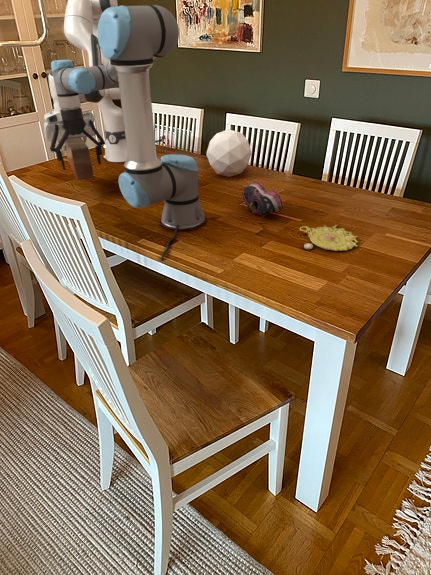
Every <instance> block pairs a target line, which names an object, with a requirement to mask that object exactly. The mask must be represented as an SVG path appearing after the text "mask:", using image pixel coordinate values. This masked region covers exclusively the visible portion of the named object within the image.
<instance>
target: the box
mask: <svg viewBox="0 0 431 575" xmlns="http://www.w3.org/2000/svg"><path fill="white" fill-rule="evenodd" d="M63 146H66V150H67V151H65V154H66V158H67V162H68V165H69V166H70V169H71V171H72V173H73V175H74V177H75V178H76V180H77V181H82V180H83V181H84V180H90V179H94V178H95V175H94V169H93V164H92V160H91V155H90V149H89V146H88V145H87V143H84V141H83V138H82V137H72V138H67V139H66V141H65V143H64V144H63Z"/></svg>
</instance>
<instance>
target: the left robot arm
mask: <svg viewBox="0 0 431 575" xmlns="http://www.w3.org/2000/svg"><path fill="white" fill-rule="evenodd" d="M65 5H66V6H65V11H64V20H63V33H64V37H65V38H66V40H67V41H68V42H69V43H70V44H71V45H72V46H75V48H77V49H79V50H81V51H84V52H86V53H87V56H88V67H92V66H101V65H106V64H108V63H109V62H110V59H108V58H106V57H105V56H104V55H103V54H102V52H101V50H102V49H101V48H100V46H99V42H98V24H99V20H100V18H101V15H102V13H103V12H104V11H105V10H106V9H107V8H110V7H117V6H119V2H118V0H65ZM48 86H49V92H50V97H51V98H52V100H53V110H52V111H49V112H47V113H44V115H43V119H44V121H45V122H44V123H43V132H44V138H45V140H46V141H47V142H50V143H51V142H52V138H53V134H54V130H55V129H54V124H55V123H56V124H62V117H61V112H60V110H61V109H62V108H60V107H59V102H58V97H57V92H56V88H55V83H54V79H53V75H52V70H50V71H49V72H48ZM79 98H80V103H83V102H84V103H86V102H87V103H93V104H95V105H96V106H97V107H98V109H99V111H100V113H101V115H102V119H103V120H102V121H103V125H104V129H105V130H104V136H105V137H104V138H105V140H104V141H105V144H104V145H103V148H104V155H103V159H105V160H106V161H107V162H111V163H123V162H124V163H125V162H126V161H127V159H128V153H127V145H126V137H125V129H124V121H123V114H122V107H120V106H117V105H116V104H115V103H114V102H113V100H121V98H120V90H119V88H111V89H103V90H97V91H92V92H90V93H88V94H79ZM82 114H83V119H84V121H89V119H91V120H92V121H93V124H94V127H95V128H96V125H95V115H94V114H93V113H92V112H90V111H85V112H82ZM84 130H85V131H86V132H88V133H89V134H90V135H91V136H92V137H95V136H96V134H95V133H94V131H93V130H92V129H91V127H89V126H88V125H86V126H85V128H84ZM65 131H66V130H65V129H64V128H63V127H62V128H61V130H59V133H58V137H57V141H56V142H57V144H58V143H59V142H60V140H61V138H62V136H63V135H64V132H65ZM72 137H81V138H82V140H83V141H84V143H85V144H87V143H86V142H87V140H88V137H87V136H86V135H85V134H83V133H81V134H80V135H77V134H76V135H69V136H68V138H72ZM164 138H165V137H164V136H163V135H161V139H157V140H156V139H155V143H158V142H159V143H160V142H162V141H163V140H164ZM61 151H62V152H66V151H67V150H66V146H65V145H63V146H62V148H61Z"/></svg>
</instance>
